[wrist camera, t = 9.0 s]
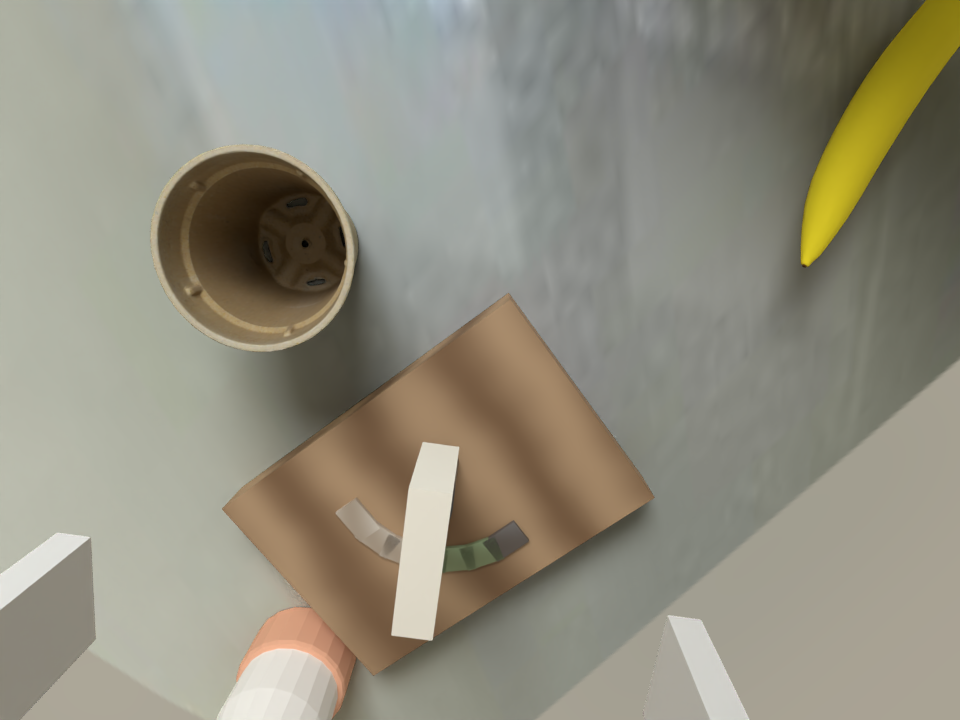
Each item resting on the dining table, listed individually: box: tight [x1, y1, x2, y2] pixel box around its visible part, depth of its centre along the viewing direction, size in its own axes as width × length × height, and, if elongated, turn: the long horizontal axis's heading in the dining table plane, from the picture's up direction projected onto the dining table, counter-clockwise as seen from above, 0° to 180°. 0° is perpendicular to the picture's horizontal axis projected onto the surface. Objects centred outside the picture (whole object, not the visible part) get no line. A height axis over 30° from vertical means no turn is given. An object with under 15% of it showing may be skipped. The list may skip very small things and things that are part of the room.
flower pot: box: [150, 144, 358, 352], centre depth 31 cm, size 9×9×9 cm
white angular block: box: [391, 442, 459, 641], centre depth 30 cm, size 11×2×11 cm, turn 172°
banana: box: [801, 0, 960, 267], centre depth 30 cm, size 3×19×6 cm, turn 150°
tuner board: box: [222, 293, 655, 676], centre depth 37 cm, size 22×15×3 cm
